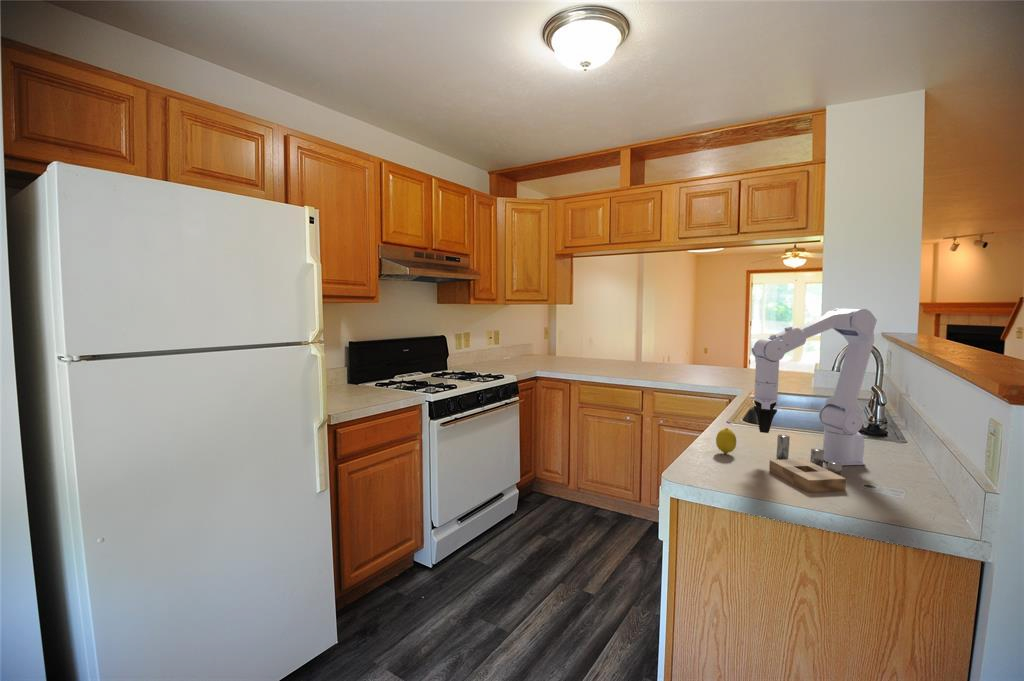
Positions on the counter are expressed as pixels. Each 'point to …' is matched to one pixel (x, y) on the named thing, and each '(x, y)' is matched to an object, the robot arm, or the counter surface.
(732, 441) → the lemon
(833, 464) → the pin short
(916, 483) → the counter surface
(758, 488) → the counter surface
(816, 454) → the pin medium
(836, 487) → the hole block
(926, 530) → the counter surface
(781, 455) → the pin tall
